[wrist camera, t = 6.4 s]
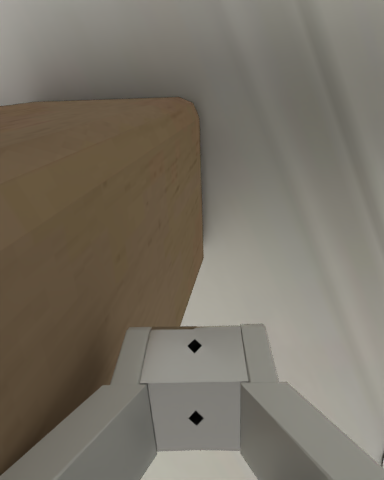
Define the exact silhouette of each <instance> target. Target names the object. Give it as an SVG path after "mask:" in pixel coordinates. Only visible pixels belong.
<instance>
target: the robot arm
mask: <svg viewBox="0 0 384 480" xmlns="http://www.w3.org/2000/svg"><path fill="white" fill-rule="evenodd" d="M182 450H229V451H241V455H242V456H243V458H244V459H245V461H246V462H247V464H248V465H249V467H250V468H251V470H252V471H253V473H254V474H255V476H256V477H257V479H258V480H384V460H383V467H382V466H380V465H379V464H378V463H377V462H376V461H375V460H374V459H373V458H371V457H370V456H369V455H368V454H367V453H366V452H365V451H364V450H362V449H361V448H360V447H359V446H358V445H357V444H356V443H355V442H354V441H352V440H351V439H350V438H349V437H348V436H347V435H346V434H345V433H343V432H342V431H341V430H340V429H339V428H338V427H337V426H336V425H335V424H333V423H332V422H331V421H330V420H329V419H328V418H327V417H326V416H324V415H323V414H322V413H321V412H320V411H319V410H318V409H317V408H316V407H314V406H313V405H312V404H311V403H310V402H309V401H308V400H307V399H305V398H304V397H303V396H302V395H301V394H300V393H299V392H298V391H296V390H295V389H294V388H293V387H292V386H291V385H290V384H289V383H288V382H279V379H278V375H277V371H276V367H275V363H274V359H273V355H272V351H271V347H270V343H269V339H268V335H267V331H266V327H265V326H264V324H243V325H240V326H239V325H233V326H201V327H196V326H186V327H129V328H128V330H127V331H126V333H125V336H124V340H123V343H122V346H121V350H120V353H119V356H118V359H117V363H116V366H115V369H114V373H113V376H112V379H111V383H110V385H102V386H101V387H100V388H99V389H98V390H97V391H95V392H94V393H93V394H92V395H91V396H90V397H89V398H88V399H86V400H85V401H84V402H83V403H82V404H81V405H80V406H79V407H77V408H76V409H75V410H74V411H73V412H72V413H71V414H70V415H68V416H67V417H66V418H65V419H64V420H63V421H62V422H61V423H59V424H58V425H57V426H56V427H55V428H54V429H53V430H51V431H50V432H49V433H48V434H47V435H46V436H45V437H44V438H42V439H41V440H40V441H39V442H38V443H37V444H36V445H35V446H33V447H32V448H31V449H30V450H29V451H28V452H27V453H26V454H24V455H23V456H22V457H21V458H20V459H19V460H18V461H17V462H15V463H14V464H13V465H12V466H11V467H10V468H9V469H8V470H6V471H5V472H4V473H3V474H2V475H1V476H0V480H140V479H141V478H142V476H143V475H144V473H145V472H146V470H147V469H148V467H149V466H150V464H151V463H152V461H153V460H154V458H155V457H156V455H157V451H182Z"/></svg>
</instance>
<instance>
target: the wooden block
mask: <svg viewBox="0 0 384 480" xmlns="http://www.w3.org/2000/svg"><path fill="white" fill-rule="evenodd" d="M203 258H204V257H203V224H202V192H201V159H200V126H199V116H198V114H197V111H196V109H195V107H194V104H193V103H192V102H189V101H187V100H185V99H182V98H180V97H167V98H137V99H107V100H77V101H47V102H30V103H23V104H15V105H7V106H0V476H1V475H2V474H3V473H4V472H5V471H6V470H8V469H9V468H10V467H11V466H12V465H13V464H14V463H15V462H17V461H18V460H19V459H20V458H21V457H22V456H23V455H24V454H26V453H27V452H28V451H29V450H30V449H31V448H32V447H33V446H35V445H36V444H37V443H38V442H39V441H40V440H41V439H42V438H44V437H45V436H46V435H47V434H48V433H49V432H50V431H51V430H53V429H54V428H55V427H56V426H57V425H58V424H59V423H61V422H62V421H63V420H64V419H65V418H66V417H67V416H68V415H70V414H71V413H72V412H73V411H74V410H75V409H76V408H77V407H79V406H80V405H81V404H82V403H83V402H84V401H85V400H86V399H88V398H89V397H90V396H91V395H92V394H93V393H94V392H95V391H97V390H98V389H99V388H100V387H101V386H102V385H110V383H111V379H112V376H113V373H114V369H115V366H116V363H117V359H118V356H119V353H120V350H121V346H122V343H123V340H124V336H125V333H126V331H127V330H128V328H129V327H180V325H181V322H182V319H183V316H184V313H185V310H186V307H187V304H188V301H189V298H190V296H191V293H192V290H193V287H194V284H195V281H196V278H197V275H198V272H199V269H200V266H201V264H202V261H203Z"/></svg>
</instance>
